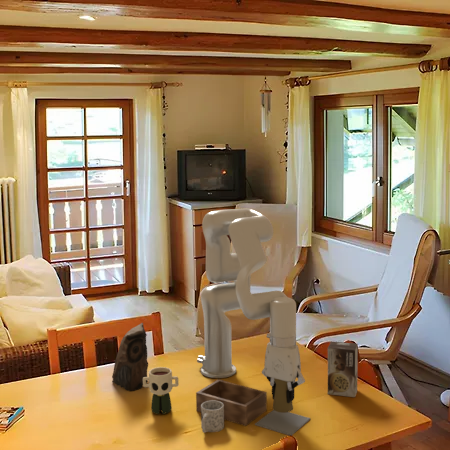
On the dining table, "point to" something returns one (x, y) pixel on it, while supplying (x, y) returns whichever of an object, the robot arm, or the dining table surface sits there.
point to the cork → (281, 397)
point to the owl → (131, 360)
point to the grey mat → (283, 422)
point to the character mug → (160, 388)
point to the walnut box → (234, 401)
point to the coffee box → (342, 368)
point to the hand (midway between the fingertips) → (283, 399)
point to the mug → (212, 416)
